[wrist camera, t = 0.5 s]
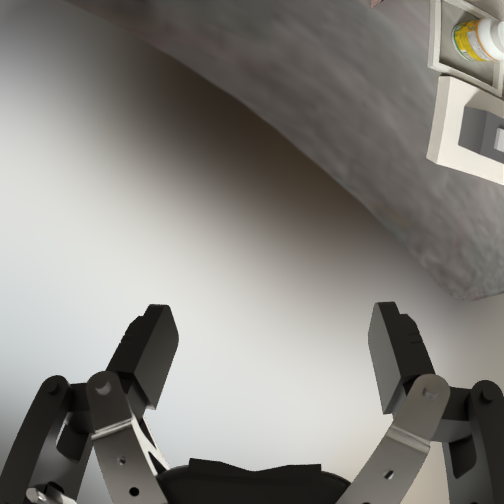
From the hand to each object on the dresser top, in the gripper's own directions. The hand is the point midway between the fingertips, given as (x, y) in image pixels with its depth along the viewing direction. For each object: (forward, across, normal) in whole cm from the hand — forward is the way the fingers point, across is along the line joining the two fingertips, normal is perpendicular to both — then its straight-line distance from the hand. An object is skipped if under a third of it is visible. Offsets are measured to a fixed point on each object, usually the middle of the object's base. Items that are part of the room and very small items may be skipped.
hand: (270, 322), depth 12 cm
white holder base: (+27, -30, -4) cm, 40 cm away
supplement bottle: (+28, -26, -17) cm, 41 cm away
